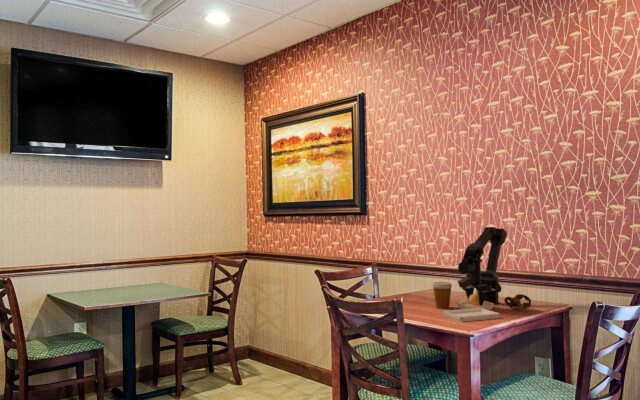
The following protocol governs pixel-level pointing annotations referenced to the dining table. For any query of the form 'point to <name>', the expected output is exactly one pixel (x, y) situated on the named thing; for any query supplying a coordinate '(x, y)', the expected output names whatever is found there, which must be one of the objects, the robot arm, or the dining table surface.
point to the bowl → (467, 305)
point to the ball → (474, 300)
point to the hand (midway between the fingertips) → (475, 303)
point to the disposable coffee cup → (442, 294)
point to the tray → (471, 314)
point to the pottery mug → (518, 302)
